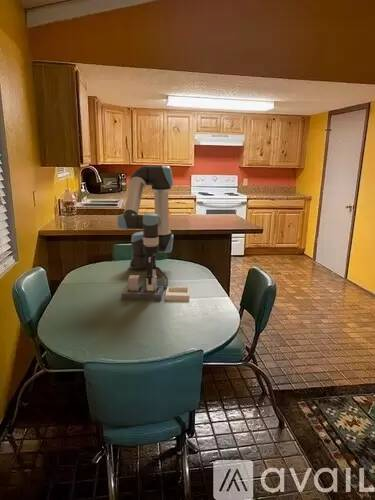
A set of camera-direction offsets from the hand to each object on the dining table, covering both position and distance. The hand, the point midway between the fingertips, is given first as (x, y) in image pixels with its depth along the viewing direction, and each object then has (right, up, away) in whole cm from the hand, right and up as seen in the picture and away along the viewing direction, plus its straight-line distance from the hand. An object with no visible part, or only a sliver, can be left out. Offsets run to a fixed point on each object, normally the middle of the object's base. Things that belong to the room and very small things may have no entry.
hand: (151, 285), depth 175 cm
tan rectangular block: (0, -5, +1) cm, 5 cm away
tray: (+13, -5, +1) cm, 15 cm away
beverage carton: (+1, -1, +20) cm, 20 cm away
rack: (-5, -5, +1) cm, 7 cm away
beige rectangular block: (-9, -5, +2) cm, 11 cm away
